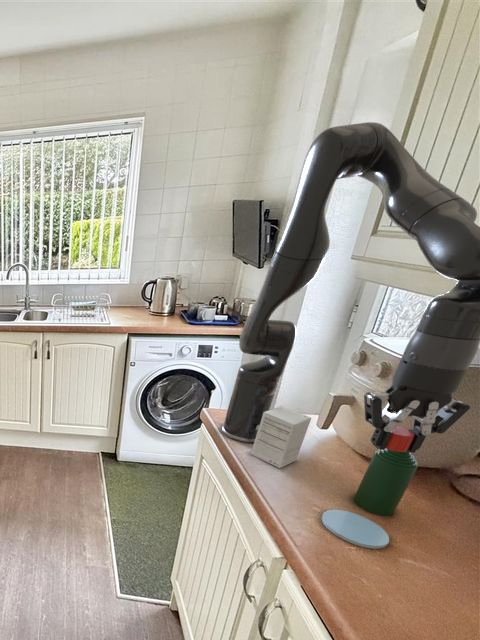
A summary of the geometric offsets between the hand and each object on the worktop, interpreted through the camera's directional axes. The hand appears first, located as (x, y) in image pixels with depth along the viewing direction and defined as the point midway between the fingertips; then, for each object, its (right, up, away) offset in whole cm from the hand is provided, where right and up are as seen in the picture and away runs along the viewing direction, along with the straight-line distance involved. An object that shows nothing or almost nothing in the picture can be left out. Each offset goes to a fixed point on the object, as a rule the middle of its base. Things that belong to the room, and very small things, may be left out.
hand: (392, 448), depth 73 cm
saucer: (0, -18, +8) cm, 19 cm away
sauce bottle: (+11, -15, +14) cm, 23 cm away
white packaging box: (+2, -8, +31) cm, 32 cm away
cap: (0, 0, 0) cm, 0 cm away
